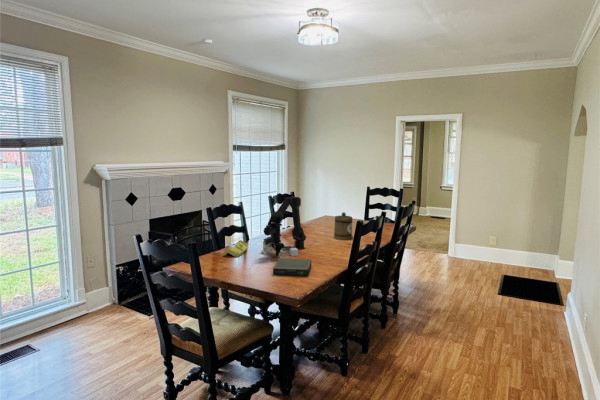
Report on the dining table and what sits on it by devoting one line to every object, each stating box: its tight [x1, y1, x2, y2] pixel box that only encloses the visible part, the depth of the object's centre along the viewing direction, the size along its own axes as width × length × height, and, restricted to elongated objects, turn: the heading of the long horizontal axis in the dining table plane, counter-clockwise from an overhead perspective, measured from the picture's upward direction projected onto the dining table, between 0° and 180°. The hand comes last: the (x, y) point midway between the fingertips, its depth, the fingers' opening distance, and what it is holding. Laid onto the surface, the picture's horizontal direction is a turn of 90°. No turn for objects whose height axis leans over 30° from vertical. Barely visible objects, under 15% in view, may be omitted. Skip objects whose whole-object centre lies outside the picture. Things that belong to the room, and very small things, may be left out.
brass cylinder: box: [272, 248, 281, 258], centre depth 257 cm, size 5×5×6 cm
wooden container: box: [333, 211, 353, 241], centre depth 313 cm, size 15×15×22 cm
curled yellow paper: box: [223, 240, 249, 258], centre depth 264 cm, size 20×7×10 cm
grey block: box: [289, 247, 299, 257], centre depth 261 cm, size 4×4×4 cm
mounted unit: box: [261, 240, 294, 255], centre depth 269 cm, size 23×8×8 cm, turn 111°
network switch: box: [272, 257, 312, 277], centre depth 227 cm, size 23×24×5 cm
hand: (276, 255), depth 257 cm, fingers closed on brass cylinder, 5 cm apart
